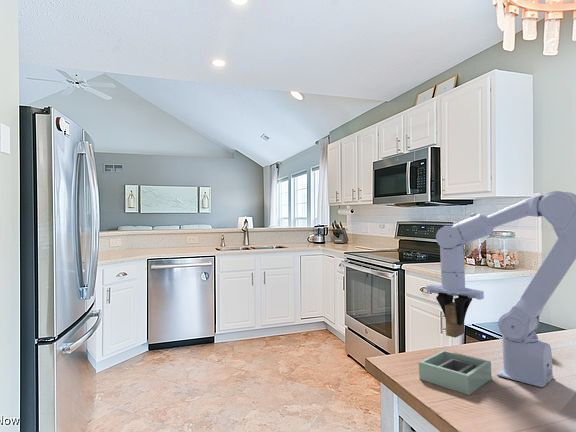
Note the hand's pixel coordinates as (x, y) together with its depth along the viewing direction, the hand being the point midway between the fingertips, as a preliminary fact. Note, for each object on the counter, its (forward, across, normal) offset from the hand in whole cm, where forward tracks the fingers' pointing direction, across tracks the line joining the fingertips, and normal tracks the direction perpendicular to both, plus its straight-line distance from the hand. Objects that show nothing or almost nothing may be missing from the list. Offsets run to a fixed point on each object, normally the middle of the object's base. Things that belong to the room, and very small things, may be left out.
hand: (455, 323), depth 100 cm
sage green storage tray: (+10, +5, -11) cm, 16 cm away
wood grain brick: (+3, 0, 0) cm, 3 cm away
